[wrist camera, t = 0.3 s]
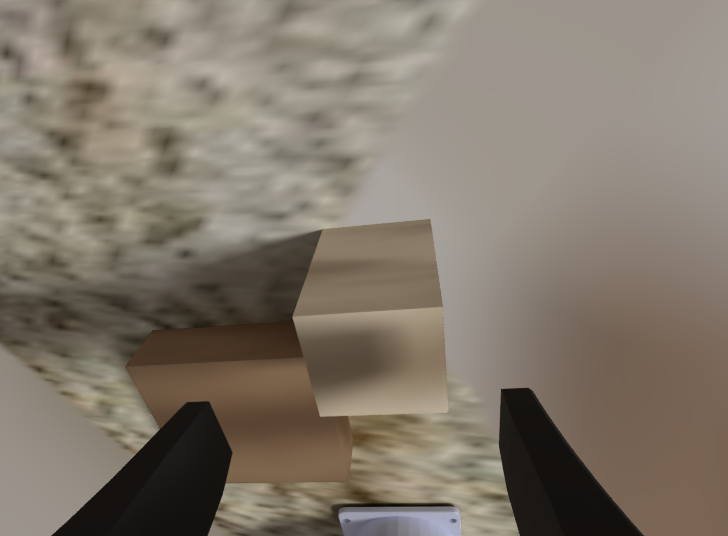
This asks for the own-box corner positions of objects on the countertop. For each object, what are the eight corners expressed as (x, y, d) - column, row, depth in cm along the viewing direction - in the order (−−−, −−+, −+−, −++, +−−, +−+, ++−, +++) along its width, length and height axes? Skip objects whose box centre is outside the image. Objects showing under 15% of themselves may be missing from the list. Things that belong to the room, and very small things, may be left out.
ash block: (435, 307, 20) (448, 412, 15) (340, 313, 20) (320, 416, 15) (430, 219, 17) (442, 307, 12) (322, 229, 18) (292, 316, 13)
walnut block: (353, 434, 25) (348, 481, 23) (211, 438, 27) (191, 483, 24) (327, 313, 21) (316, 356, 18) (156, 325, 22) (124, 366, 19)
